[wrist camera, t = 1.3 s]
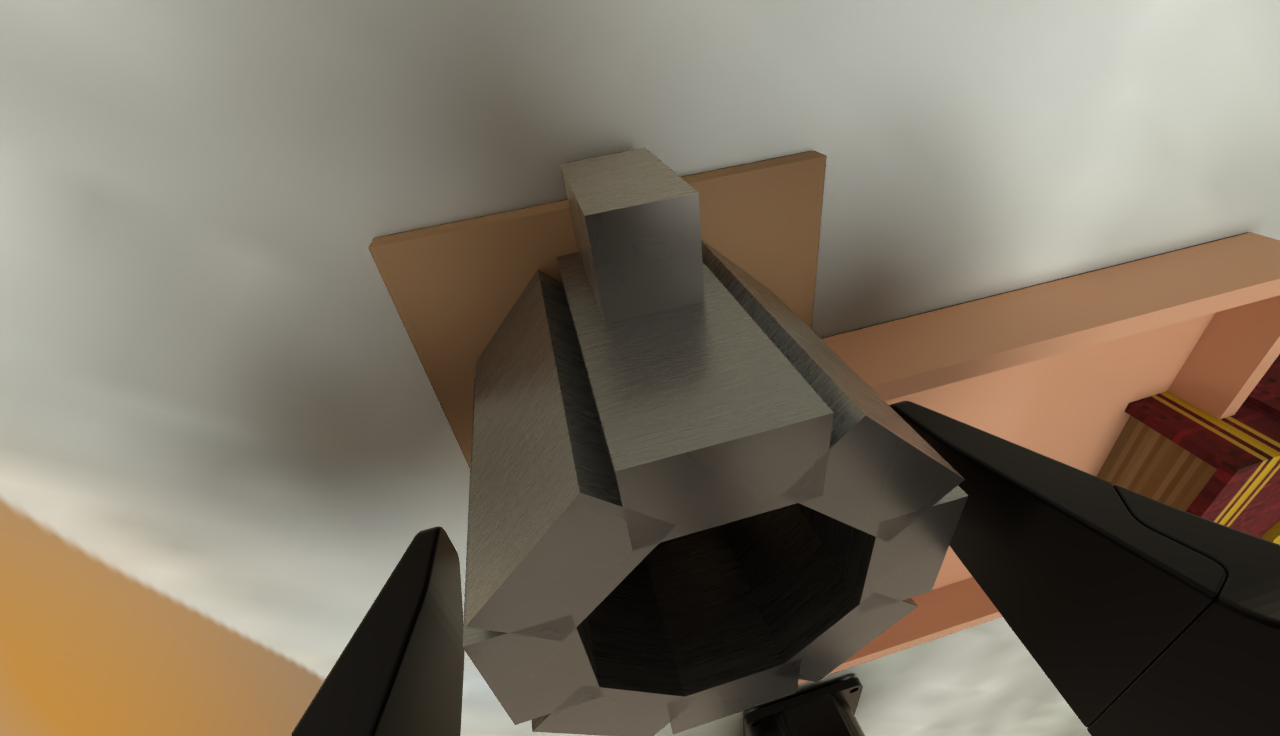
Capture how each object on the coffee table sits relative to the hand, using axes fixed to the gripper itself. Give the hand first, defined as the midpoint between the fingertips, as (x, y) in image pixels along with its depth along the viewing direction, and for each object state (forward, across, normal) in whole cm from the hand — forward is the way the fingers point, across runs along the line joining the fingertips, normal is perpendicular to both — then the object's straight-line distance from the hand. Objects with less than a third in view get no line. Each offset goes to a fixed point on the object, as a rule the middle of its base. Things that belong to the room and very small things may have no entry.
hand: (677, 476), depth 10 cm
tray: (+4, -12, +8) cm, 14 cm away
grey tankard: (+3, 0, 0) cm, 3 cm away
